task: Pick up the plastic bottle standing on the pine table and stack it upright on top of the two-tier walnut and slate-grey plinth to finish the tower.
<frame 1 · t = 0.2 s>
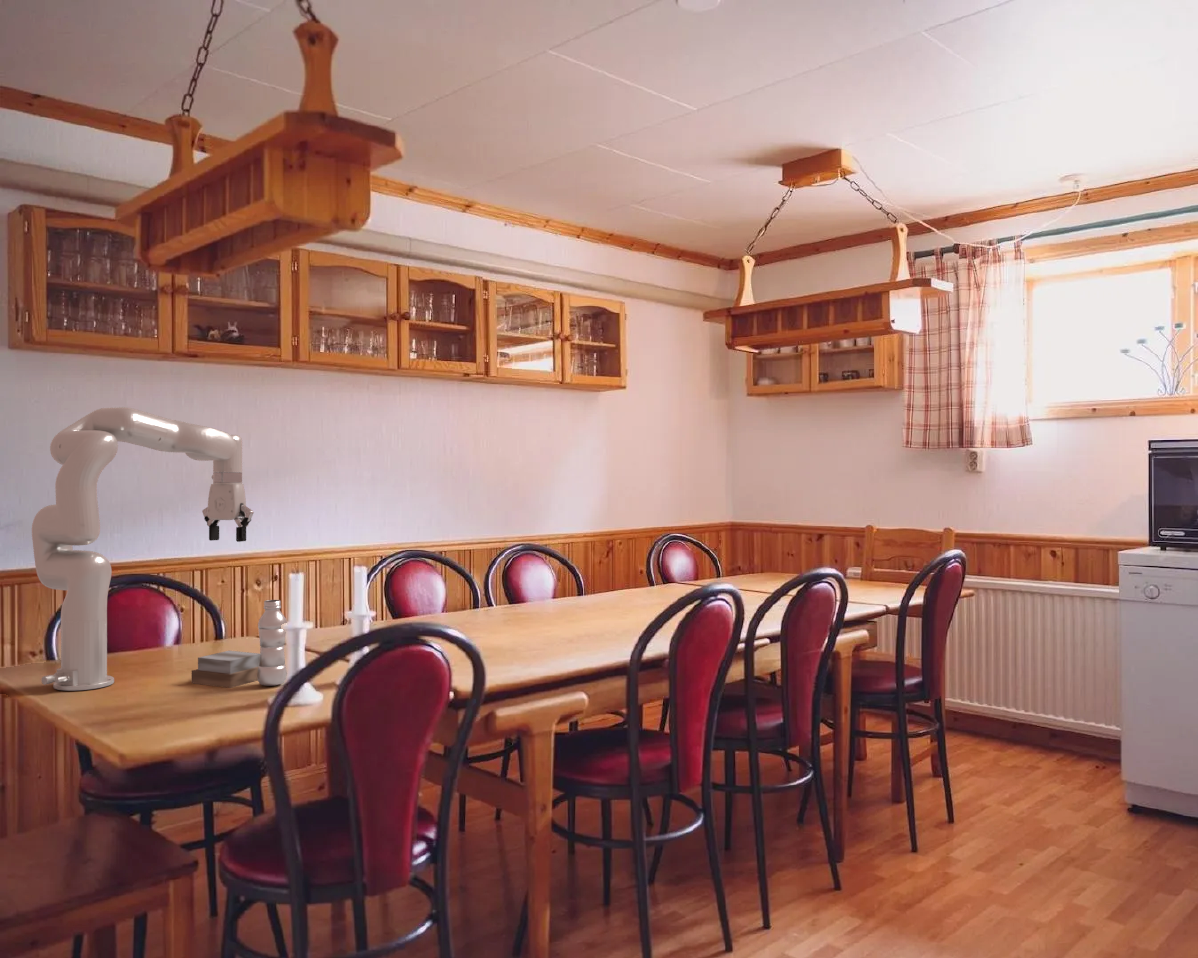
hand: (227, 540, 266), 31 cm above the table, tool pointing down, fingers open, 9 cm apart
plastic bottle: (272, 686, 227), on the table
plinth: (229, 680, 232), on the table
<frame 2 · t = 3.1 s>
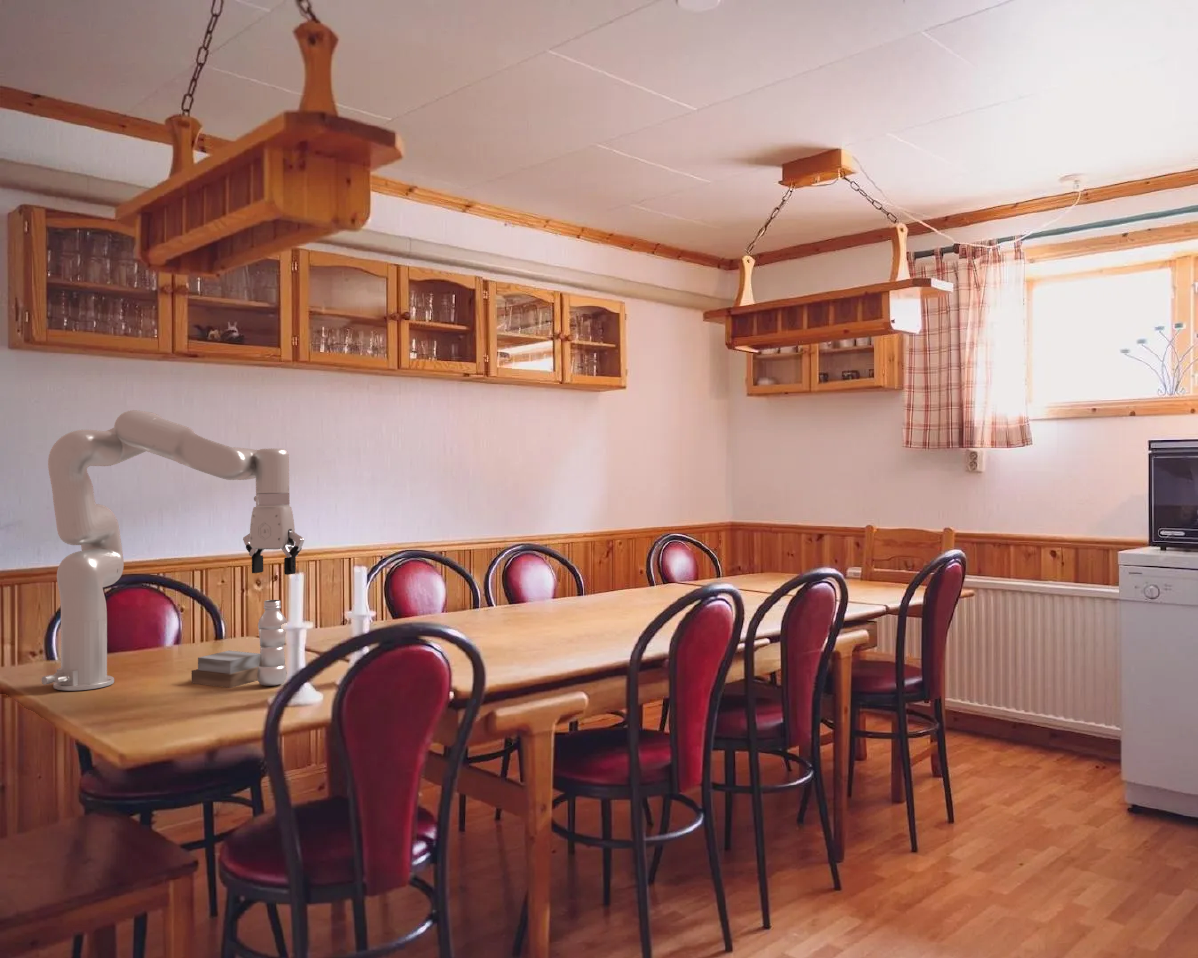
hand: (273, 573, 226), 26 cm above the table, tool pointing down, fingers open, 9 cm apart
nothing on the table moved.
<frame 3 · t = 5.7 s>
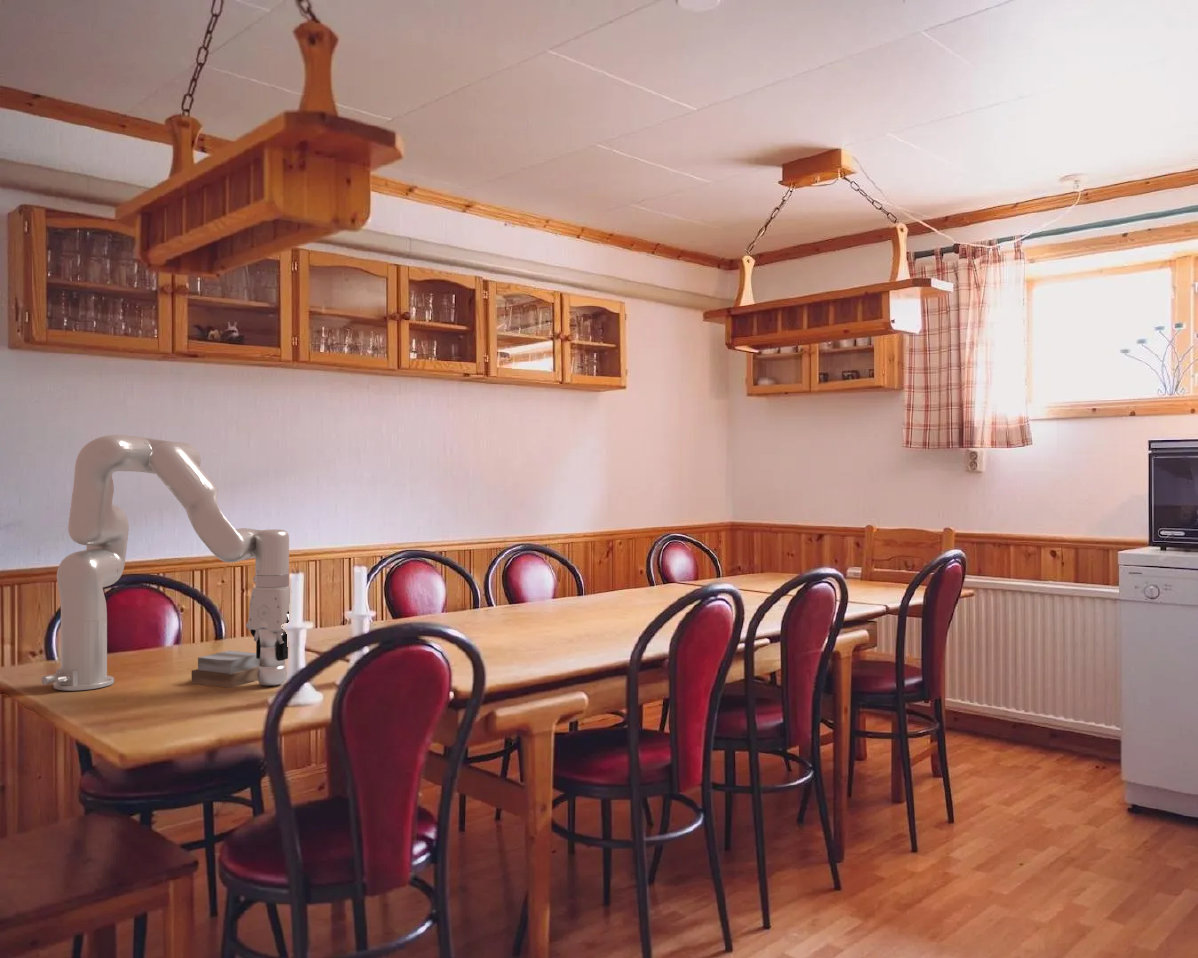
hand: (272, 657, 227), 6 cm above the table, tool pointing down, fingers closed on plastic bottle, 5 cm apart
plastic bottle: (272, 686, 227), on the table, touching gripper
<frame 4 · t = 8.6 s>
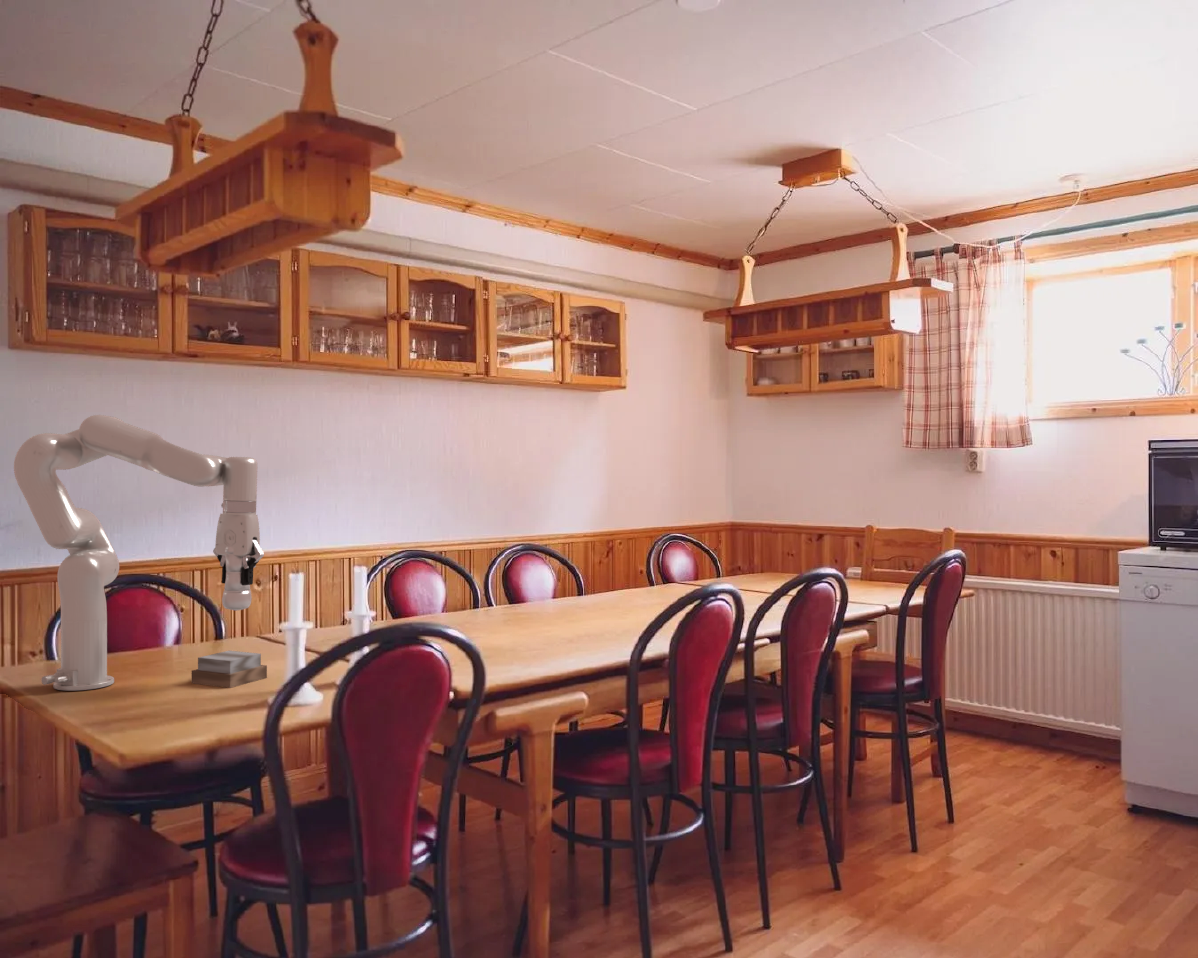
hand: (237, 583, 230), 24 cm above the table, tool pointing down, fingers closed on plastic bottle, 5 cm apart
plastic bottle: (236, 610, 230), point 17 cm above the table, touching gripper
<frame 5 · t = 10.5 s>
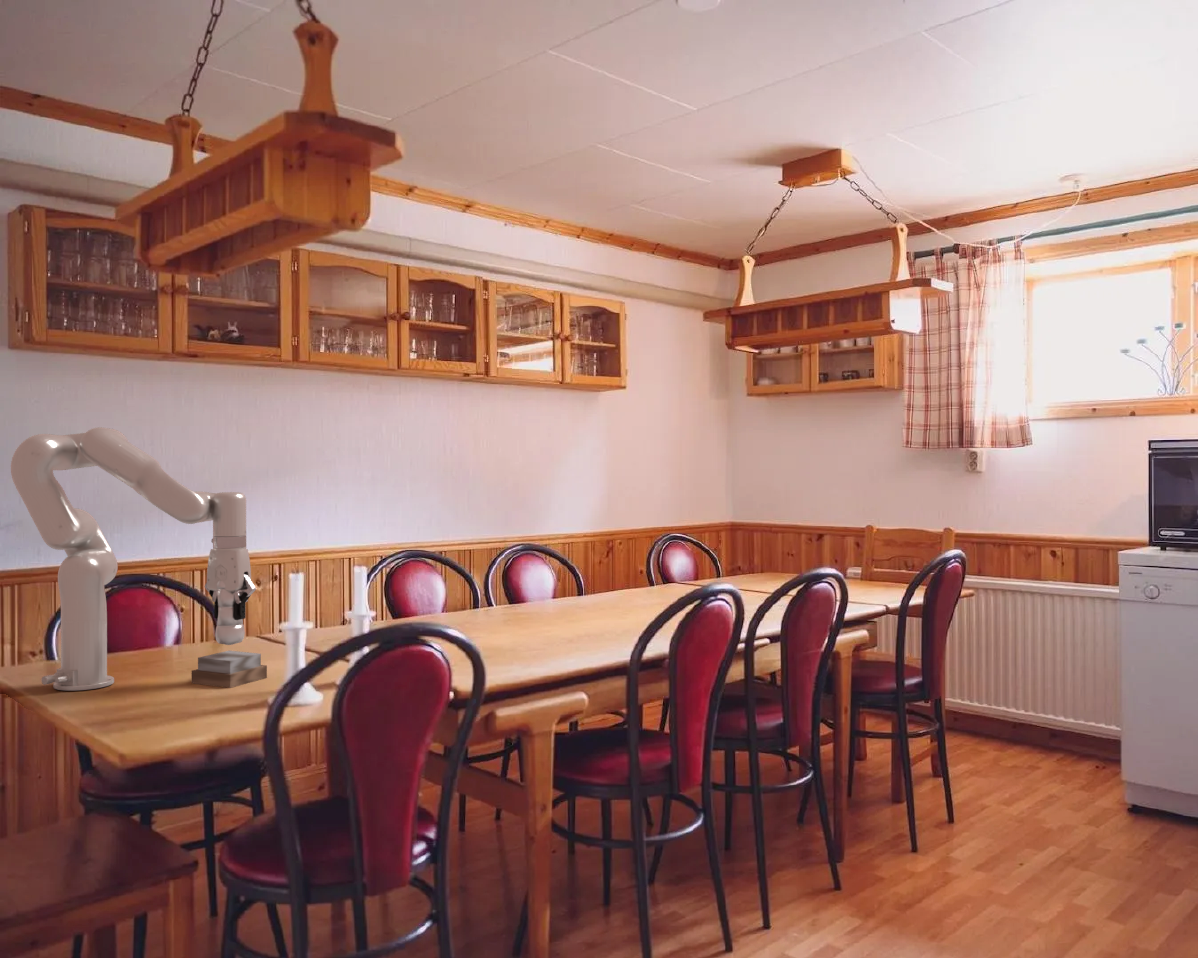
hand: (230, 617, 232), 15 cm above the table, tool pointing down, fingers closed on plastic bottle, 5 cm apart
plastic bottle: (230, 645, 232), point 9 cm above the table, touching gripper
when the fingers open (13 cm above the table, at t = 11.7 s): plastic bottle moves 1 cm, resting on plinth.
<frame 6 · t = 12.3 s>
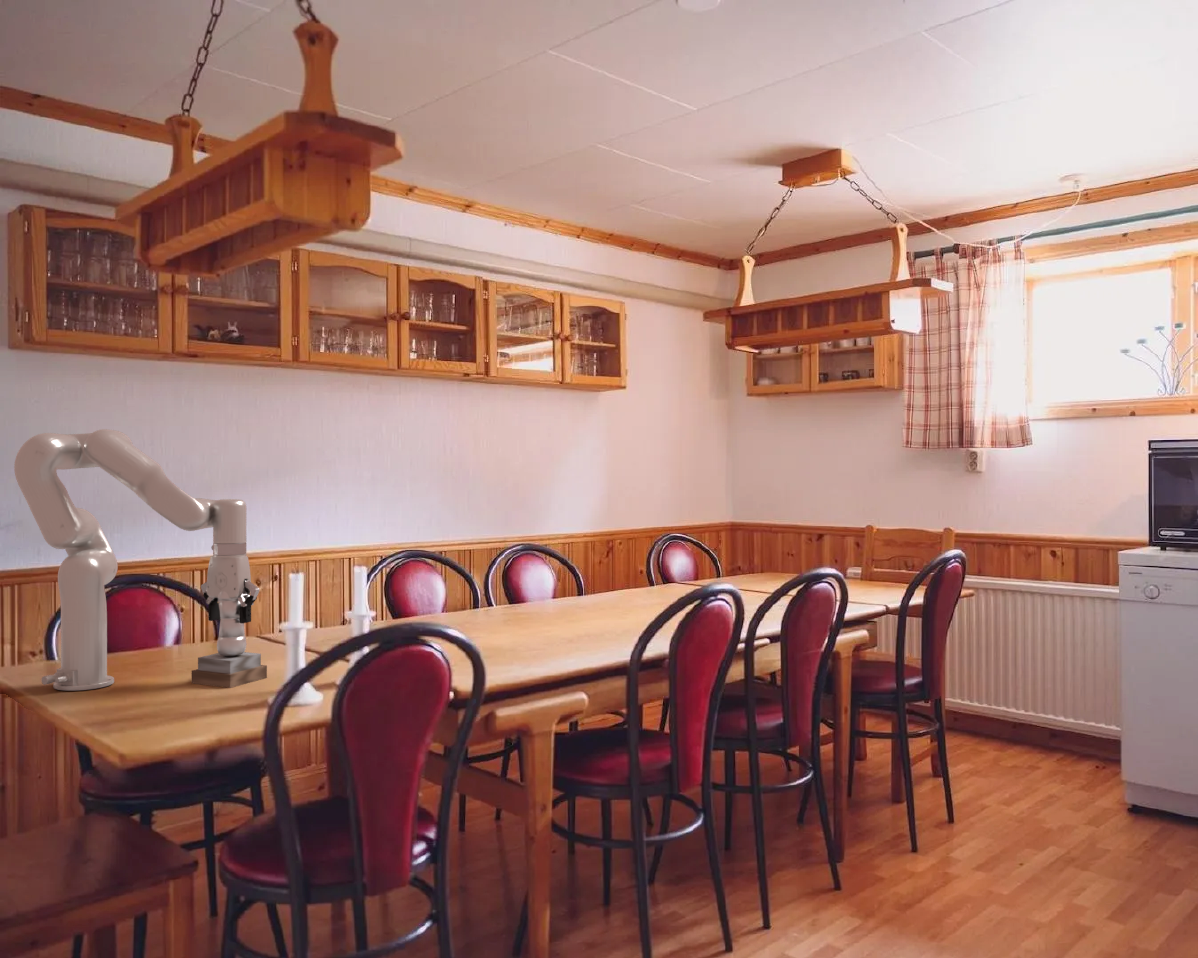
hand: (229, 621, 232), 14 cm above the table, tool pointing down, fingers open, 9 cm apart
plastic bottle: (231, 656, 231), point 6 cm above the table, touching plinth
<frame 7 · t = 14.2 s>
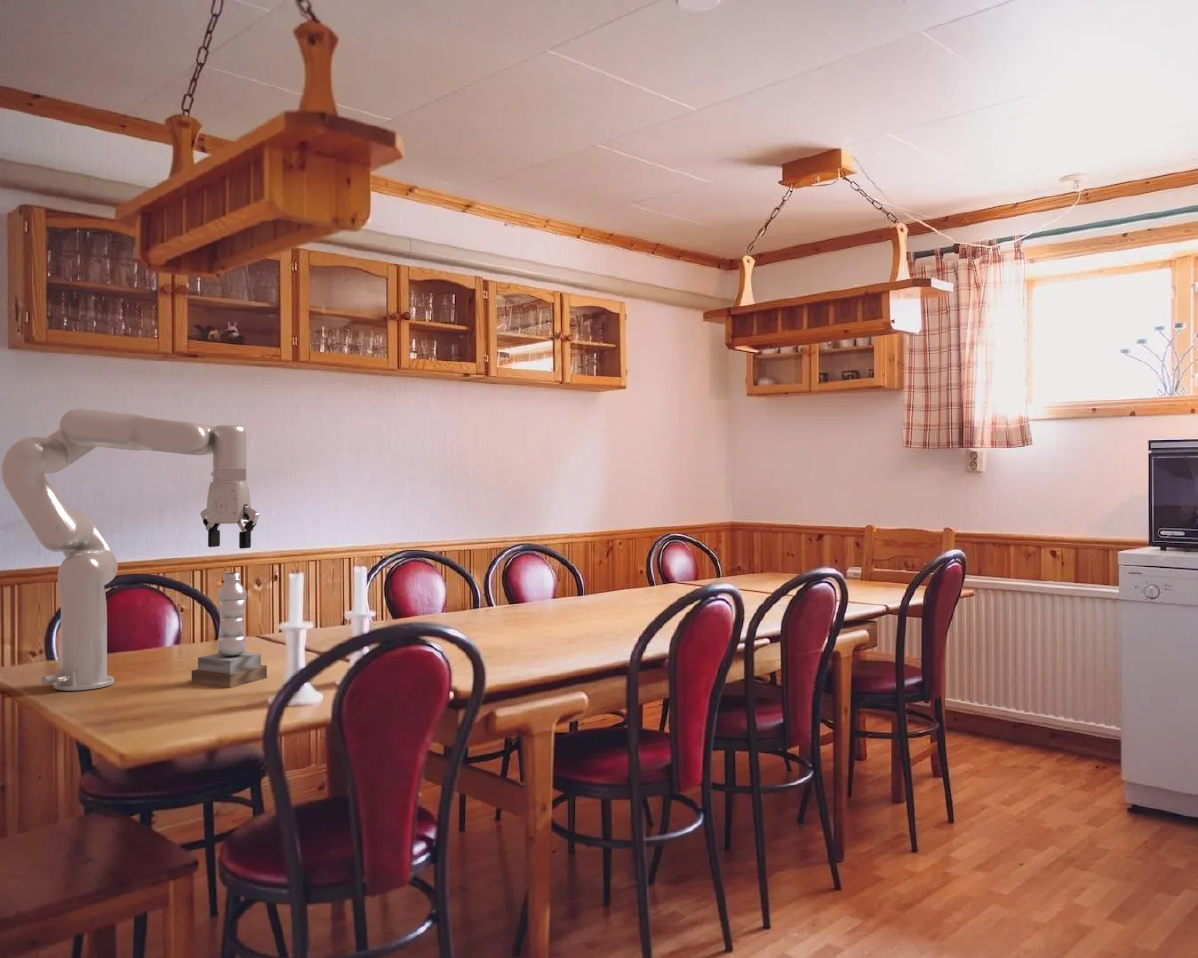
hand: (229, 547, 231), 32 cm above the table, tool pointing down, fingers open, 9 cm apart
nothing on the table moved.
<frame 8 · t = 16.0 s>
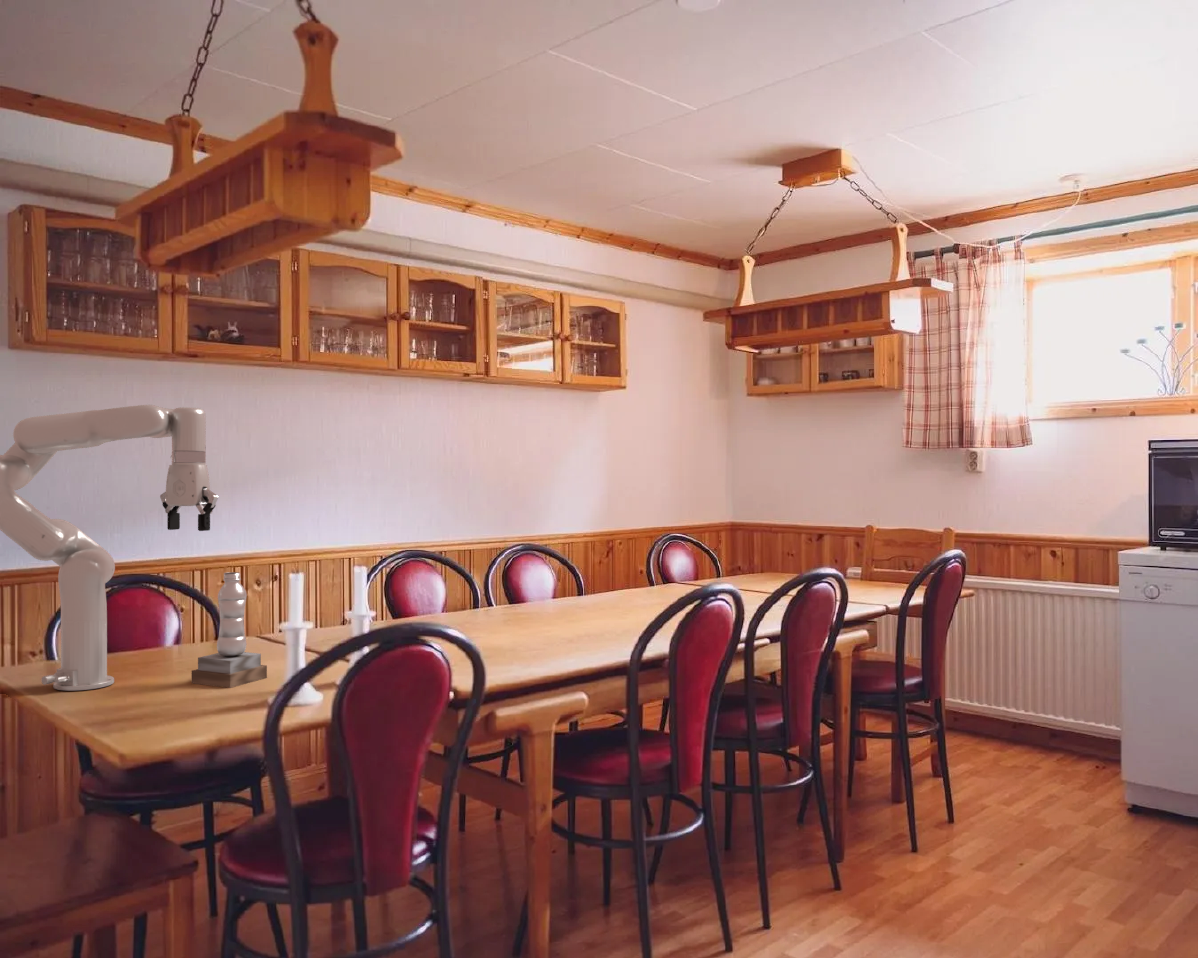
hand: (188, 530, 231), 36 cm above the table, tool pointing down, fingers open, 9 cm apart
nothing on the table moved.
at the end: plastic bottle inside the target area on the plinth (0.7 cm from its centre), point 5.8 cm above the plinth's base; plastic bottle tilted 0°; the gripper is holding nothing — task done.
